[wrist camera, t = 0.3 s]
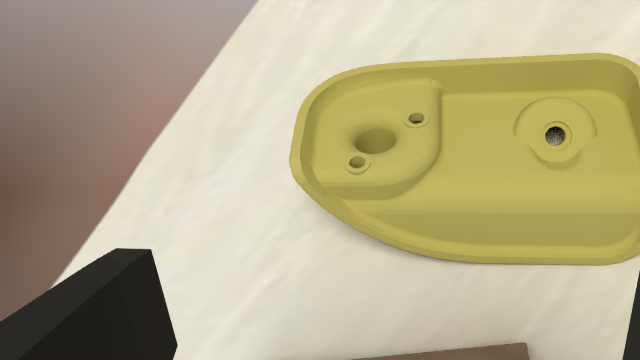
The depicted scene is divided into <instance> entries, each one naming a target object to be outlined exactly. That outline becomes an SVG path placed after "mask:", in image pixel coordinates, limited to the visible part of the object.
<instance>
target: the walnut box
mask: <svg viewBox="0 0 640 360" xmlns="http://www.w3.org/2000/svg"><path fill="white" fill-rule="evenodd" d="M353 360H529V355H528V350H527V345H526V343H515V344H505V345H495V346H484V347H474V348H464V349H454V350H444V351H434V352H424V353H414V354H404V355H393V356H383V357H373V358H363V359H353Z"/></svg>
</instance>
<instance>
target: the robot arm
mask: <svg viewBox="0 0 640 360" xmlns="http://www.w3.org/2000/svg"><path fill="white" fill-rule="evenodd" d="M177 346H178V345H177V341H176V338H175V334H174V330H173V327H172V323H171V320H170V316H169V312H168V309H167V305H166V302H165V298H164V294H163V291H162V287H161V283H160V280H159V276H158V273H157V269H156V265H155V262H154V258H153V255H152V251H151V249H122V248H116V249H114V250H112V251H111V252H109V253H107V254H105V255H103V256H102V257H100V258H98V259H97V260H95V261H93V262H92V263H90V264H88V265H87V266H85V267H84V268H82V269H81V270H79V271H77V272H76V273H74V274H73V275H71V276H70V277H68V278H67V279H65V280H64V281H62V282H61V283H59V284H57V285H56V286H54V287H53V288H51V289H50V290H48V291H47V292H45V293H44V294H42V295H41V296H39V297H38V298H36V299H35V300H33V301H32V302H30V303H29V304H27V305H25V306H24V307H23V308H21V309H19V310H18V311H16V312H15V313H13V314H12V315H10V316H9V317H7V318H6V319H4V320H3V321H1V322H0V360H173V358H174V355H175V352H176V349H177ZM623 360H640V272H639V277H638V282H637V288H636V293H635V298H634V303H633V308H632V313H631V319H630V324H629V329H628V334H627V339H626V345H625V350H624V355H623Z"/></svg>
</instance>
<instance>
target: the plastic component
mask: <svg viewBox="0 0 640 360" xmlns="http://www.w3.org/2000/svg"><path fill="white" fill-rule="evenodd" d="M413 121H422V122H421V123H418V124H413V123H411V122H413ZM554 126H557V127H559V128H561V129H562V130H563V133H564V139H563V141H562V142H561V143H560V144H558V145H555V146H553V145H551V144H549V143H548V142H547V141H546V137H545V134H546V132H547V131H548V129H549V128H551V127H554ZM289 163H290V168H291V171H292V175H293V177H294V178H295V180H296V182H297V183H298V184H299V185H300V186H301V187H302V189H303V190H304V191H305V192H306V193H307V194H308V195H309V196H310V197H311V198H312V199H314V200H315V201H316V202H317V203H318V204H319V205H320V206H322V207H323V208H324V209H325V210H327V211H328V212H330V213H331V214H332V215H334V216H335V217H337V218H338V219H340V220H341V221H343V222H345V223H346V224H348V225H349V226H351V227H353V228H355V229H357V230H359V231H360V232H362V233H364V234H366V235H368V236H370V237H372V238H375V239H377V240H379V241H382V242H384V243H386V244H389V245H392V246H395V247H398V248H401V249H404V250H406V251H409V252H413V253H417V254H421V255H426V256H430V257H434V258H441V259H447V260H454V261H463V262H472V263H521V264H578V265H607V264H613V263H618V262H621V261H624V260H627V259H630V258H632V257H633V256H635V255H637V254H639V253H640V67H639V66H638V65H637V64H636V63H634V62H632V61H630V60H628V59H626V58H623V57H620V56H617V55H612V54H604V53H587V54H566V55H545V56H523V57H502V58H480V59H459V60H438V61H417V62H401V63H389V64H379V65H371V66H365V67H360V68H356V69H352V70H348V71H345V72H342V73H340V74H337V75H335V76H333V77H331V78H329V79H328V80H326V81H324V82H323V83H321V84H320V85H319V86H317V87H316V88H315V89H314V90H313V91H312V92H311V93H310V94H309V95H308V96H307V97H306V99H305V100H304V102H303V103H302V105H301V107H300V110H299V112H298V115H297V119H296V123H295V128H294V134H293V140H292V145H291V151H290V156H289Z"/></svg>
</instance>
